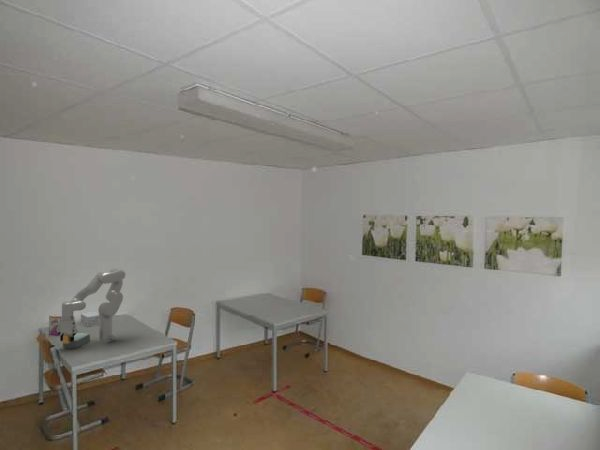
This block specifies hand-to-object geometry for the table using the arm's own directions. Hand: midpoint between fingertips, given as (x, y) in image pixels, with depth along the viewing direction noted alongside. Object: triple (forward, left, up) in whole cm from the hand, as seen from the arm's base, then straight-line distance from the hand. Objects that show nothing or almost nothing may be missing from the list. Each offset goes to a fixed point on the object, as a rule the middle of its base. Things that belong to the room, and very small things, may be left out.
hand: (67, 340), depth 272 cm
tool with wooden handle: (0, -8, -2) cm, 9 cm away
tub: (0, -11, -7) cm, 13 cm away
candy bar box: (+32, -32, -8) cm, 46 cm away
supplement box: (+22, -64, -8) cm, 68 cm away
